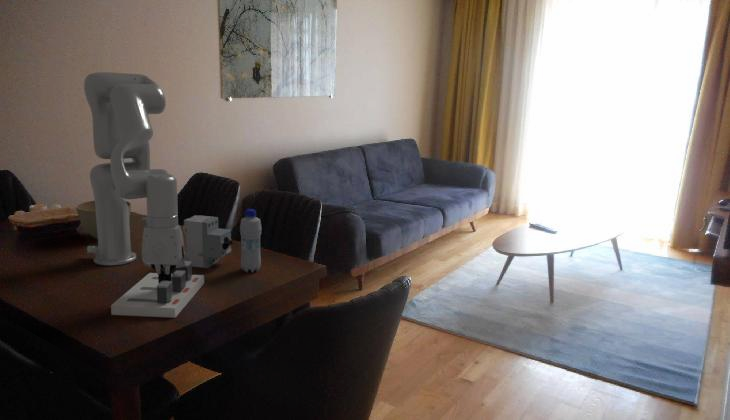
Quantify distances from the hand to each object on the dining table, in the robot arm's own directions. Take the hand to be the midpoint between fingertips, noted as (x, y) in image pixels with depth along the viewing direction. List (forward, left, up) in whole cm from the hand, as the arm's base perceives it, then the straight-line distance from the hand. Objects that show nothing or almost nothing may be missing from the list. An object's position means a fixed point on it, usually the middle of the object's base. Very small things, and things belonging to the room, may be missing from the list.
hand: (165, 286), depth 144 cm
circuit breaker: (+4, +29, -4) cm, 29 cm away
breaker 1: (+3, -8, 0) cm, 9 cm away
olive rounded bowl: (-42, +54, -4) cm, 69 cm away
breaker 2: (+3, +8, 0) cm, 8 cm away
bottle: (+18, +25, -4) cm, 31 cm away
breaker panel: (-1, 0, -3) cm, 4 cm away
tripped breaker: (+4, 0, 0) cm, 4 cm away
